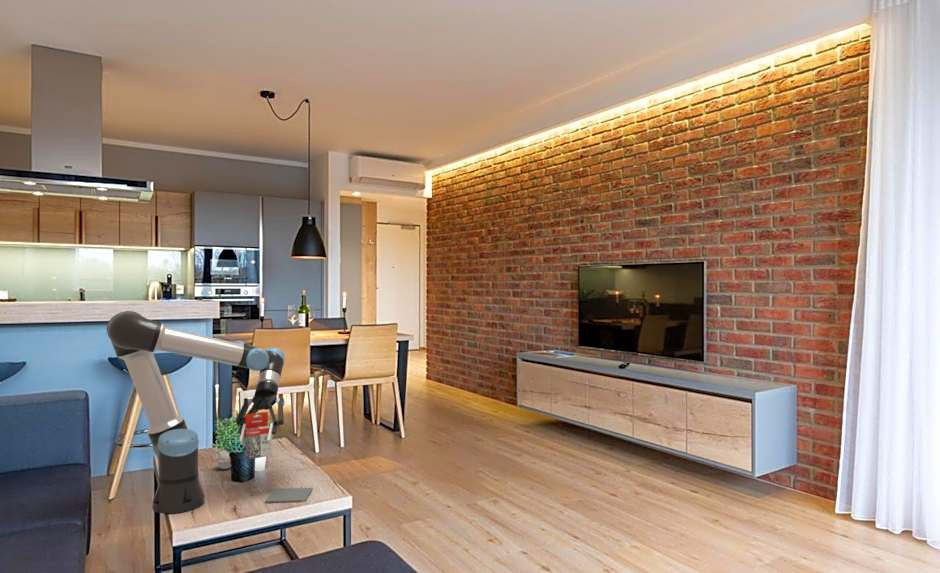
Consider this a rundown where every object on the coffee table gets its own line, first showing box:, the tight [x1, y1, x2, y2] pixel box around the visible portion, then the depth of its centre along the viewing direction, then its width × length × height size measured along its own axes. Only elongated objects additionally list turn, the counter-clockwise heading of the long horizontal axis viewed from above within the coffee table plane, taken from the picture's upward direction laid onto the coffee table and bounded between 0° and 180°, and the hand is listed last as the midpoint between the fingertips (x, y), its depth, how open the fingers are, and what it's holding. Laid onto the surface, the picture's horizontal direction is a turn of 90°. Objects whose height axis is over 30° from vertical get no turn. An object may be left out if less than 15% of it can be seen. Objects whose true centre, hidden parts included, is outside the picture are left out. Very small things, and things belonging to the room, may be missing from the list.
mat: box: [264, 487, 314, 504], centre depth 203 cm, size 13×12×1 cm
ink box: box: [244, 411, 272, 460], centre depth 205 cm, size 4×8×15 cm, turn 123°
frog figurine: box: [214, 450, 231, 470], centre depth 234 cm, size 6×7×7 cm
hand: (255, 442), depth 202 cm, fingers closed on ink box, 8 cm apart
